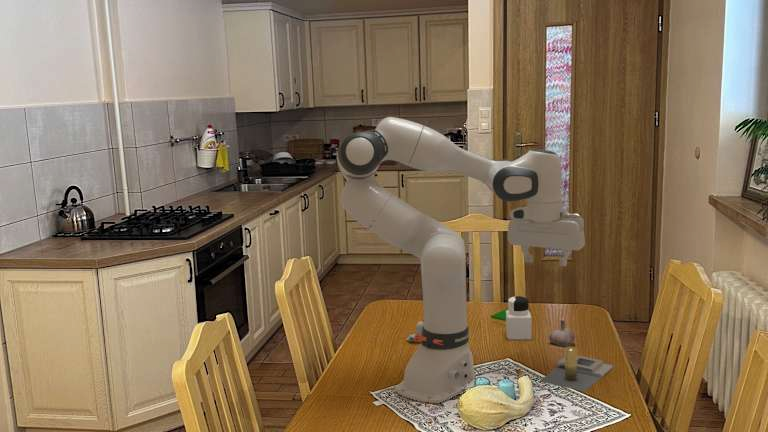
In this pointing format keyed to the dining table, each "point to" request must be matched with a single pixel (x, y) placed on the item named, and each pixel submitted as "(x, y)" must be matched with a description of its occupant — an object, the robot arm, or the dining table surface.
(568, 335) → the garlic bulb
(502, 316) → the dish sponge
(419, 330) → the pacifier
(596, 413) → the dining table surface
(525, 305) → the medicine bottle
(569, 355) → the brass pin
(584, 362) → the frame
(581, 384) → the mat
